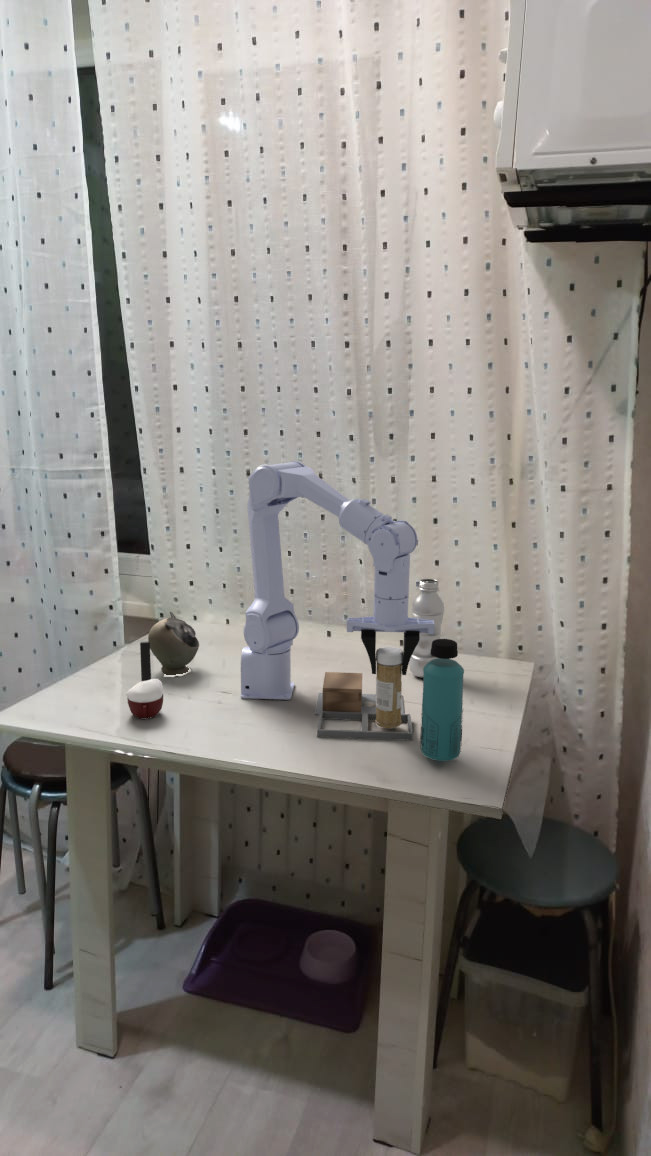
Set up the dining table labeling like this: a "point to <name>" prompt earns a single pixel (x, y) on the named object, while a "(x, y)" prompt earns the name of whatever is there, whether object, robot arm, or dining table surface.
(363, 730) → the socket frames
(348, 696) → the cardboard box
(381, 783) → the dining table surface
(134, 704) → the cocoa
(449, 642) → the beverage bottle
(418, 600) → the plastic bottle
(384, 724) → the spice jar
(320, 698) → the board
